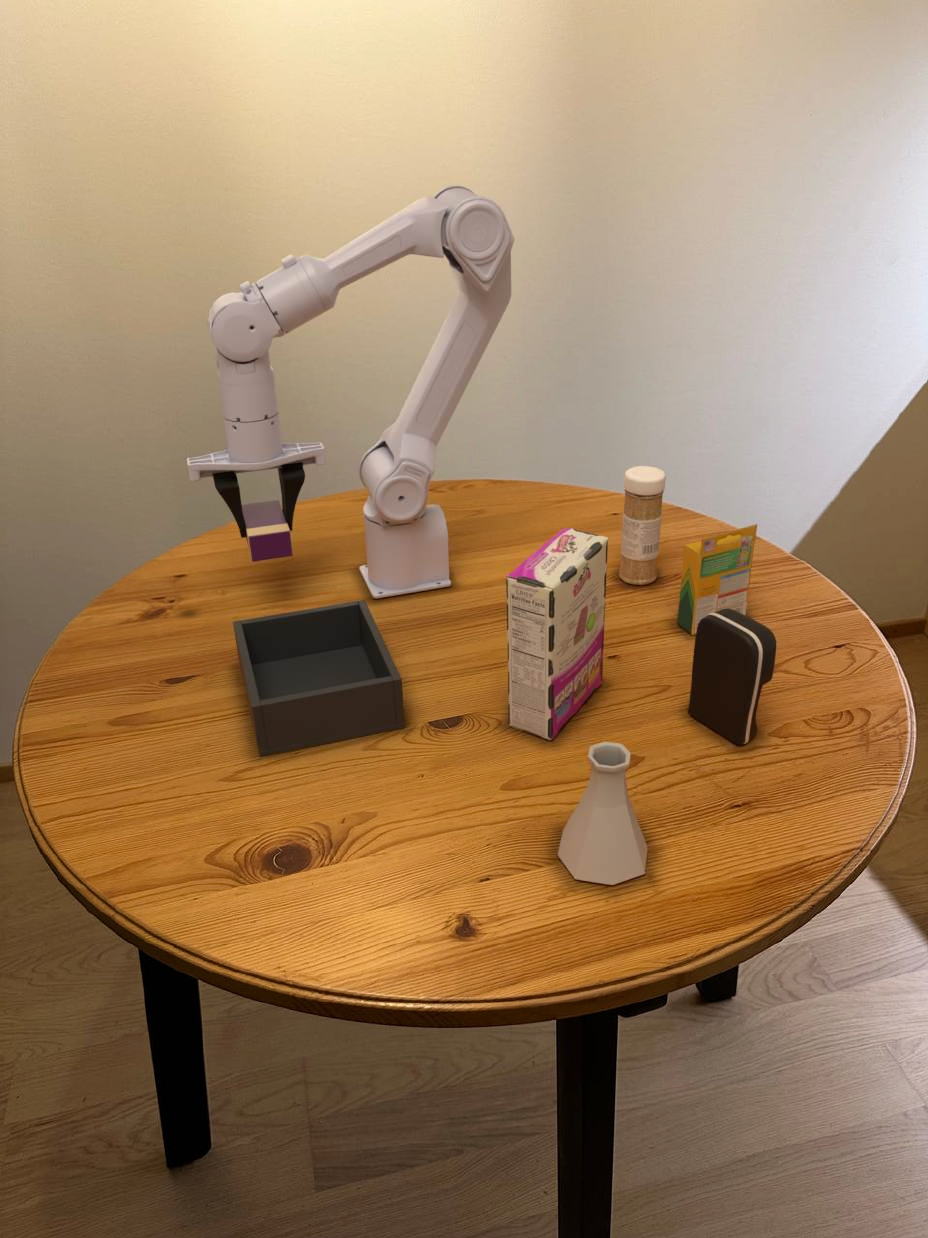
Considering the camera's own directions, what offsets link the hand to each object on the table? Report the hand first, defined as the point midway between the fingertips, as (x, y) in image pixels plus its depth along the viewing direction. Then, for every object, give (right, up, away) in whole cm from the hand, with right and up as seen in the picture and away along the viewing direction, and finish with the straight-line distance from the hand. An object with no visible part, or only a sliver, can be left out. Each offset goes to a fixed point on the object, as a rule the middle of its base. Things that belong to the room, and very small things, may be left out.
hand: (266, 530), depth 112 cm
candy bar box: (+31, -18, -15) cm, 39 cm away
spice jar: (+43, -5, +7) cm, 44 cm away
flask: (+33, -29, -33) cm, 55 cm away
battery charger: (+47, -20, -18) cm, 54 cm away
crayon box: (+49, -10, -2) cm, 50 cm away
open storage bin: (+8, -18, -13) cm, 23 cm away
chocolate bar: (0, -1, +1) cm, 1 cm away
